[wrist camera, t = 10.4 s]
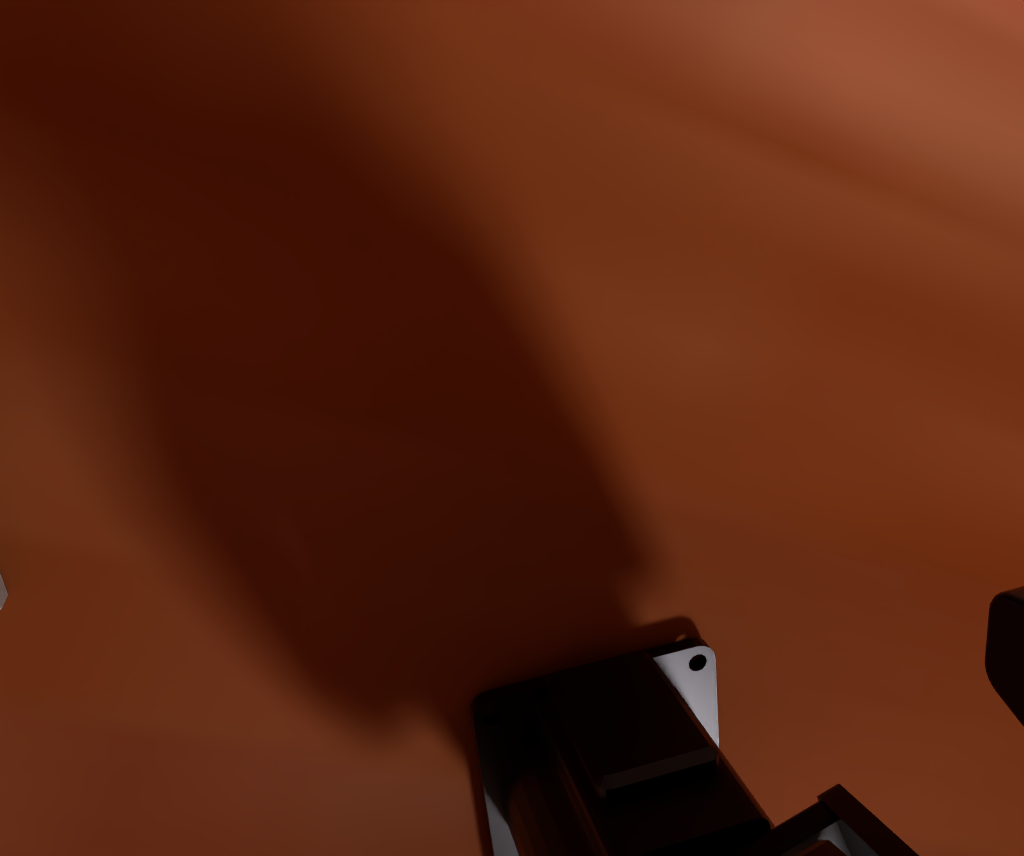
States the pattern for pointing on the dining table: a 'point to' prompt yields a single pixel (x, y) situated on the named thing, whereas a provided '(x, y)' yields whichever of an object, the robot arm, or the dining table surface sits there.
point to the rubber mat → (2, 593)
